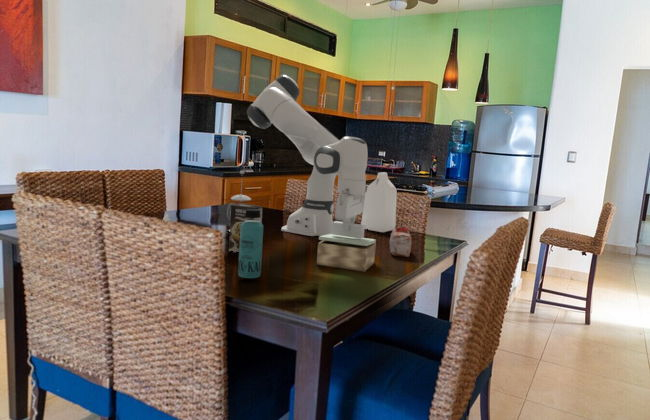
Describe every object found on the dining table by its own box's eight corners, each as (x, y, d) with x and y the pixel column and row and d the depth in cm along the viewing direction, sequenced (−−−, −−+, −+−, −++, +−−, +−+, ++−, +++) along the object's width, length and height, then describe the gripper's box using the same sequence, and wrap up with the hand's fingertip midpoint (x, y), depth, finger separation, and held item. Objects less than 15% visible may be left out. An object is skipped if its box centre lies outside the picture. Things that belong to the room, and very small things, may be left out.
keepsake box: (316, 264, 162) (318, 242, 161) (328, 256, 173) (330, 236, 172) (364, 271, 157) (366, 249, 156) (374, 263, 168) (375, 242, 167)
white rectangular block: (331, 234, 164) (332, 222, 164) (335, 232, 167) (336, 221, 166) (360, 238, 161) (361, 226, 160) (363, 237, 163) (364, 224, 163)
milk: (373, 225, 242) (378, 171, 238) (395, 229, 235) (400, 173, 231) (360, 228, 232) (364, 171, 228) (382, 232, 226) (387, 174, 222)
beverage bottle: (238, 276, 143) (241, 206, 140) (261, 277, 143) (265, 207, 141) (236, 283, 136) (239, 210, 134) (260, 284, 137) (264, 211, 134)
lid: (318, 239, 161) (318, 236, 161) (331, 236, 173) (331, 233, 173) (366, 246, 156) (367, 242, 156) (376, 242, 168) (376, 239, 168)
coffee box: (228, 251, 171) (229, 204, 169) (237, 248, 177) (239, 202, 175) (252, 255, 168) (254, 207, 166) (260, 251, 174) (263, 205, 172)
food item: (412, 258, 179) (414, 231, 178) (389, 256, 180) (391, 229, 178) (407, 250, 193) (410, 224, 191) (386, 248, 193) (389, 223, 192)
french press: (256, 232, 207) (259, 171, 203) (237, 236, 197) (239, 172, 193) (238, 228, 212) (241, 169, 208) (218, 232, 202) (221, 169, 199)
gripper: (351, 191, 151) (348, 237, 153) (368, 186, 170) (365, 227, 172) (331, 189, 153) (328, 234, 155) (350, 184, 172) (347, 224, 174)
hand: (348, 230), depth 164 cm, fingers closed on white rectangular block, 3 cm apart
